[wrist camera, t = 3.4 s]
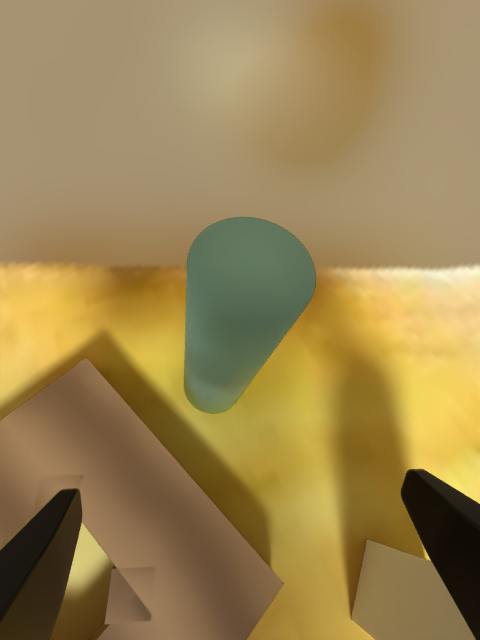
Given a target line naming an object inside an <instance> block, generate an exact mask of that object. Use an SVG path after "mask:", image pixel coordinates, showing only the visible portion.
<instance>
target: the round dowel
mask: <svg viewBox="0 0 480 640" xmlns="http://www.w3.org/2000/svg"><path fill="white" fill-rule="evenodd" d="M315 284H316V273H315V268H314V264H313V261H312V259H311V257H310V255H309V253H308V251H307V250H306V248H305V247H304V245H303V244H302V243H301V242H300V241H299V240H298V239H297V238H296V237H295V236H294V235H293V234H291V233H290V232H289V231H287V230H286V229H284V228H282V227H281V226H278V225H276V224H274V223H272V222H269V221H266V220H262V219H258V218H252V217H235V218H228V219H225V220H221V221H219V222H216V223H214V224H212V225H210V226H209V227H207V228H206V229H205V230H203V231H202V232H201V233H200V234H199V235H198V236H197V238H196V239H195V240H194V242H193V244H192V246H191V248H190V251H189V254H188V260H187V287H186V324H185V360H184V391H185V394H186V397H187V399H188V400H189V402H190V403H191V404H192V405H193V406H194V407H195V408H197V409H198V410H200V411H203V412H206V413H220V412H223V411H225V410H227V409H229V408H230V407H232V406H233V405H234V404H235V402H236V401H237V400H238V398H239V397H240V396H241V394H242V393H243V392H244V390H245V389H246V388H247V386H248V385H249V384H250V382H251V381H252V380H253V378H254V377H255V375H256V374H257V373H258V371H259V370H260V369H261V367H262V366H263V365H264V363H265V362H266V361H267V359H268V358H269V356H270V355H271V354H272V352H273V351H274V350H275V348H276V347H277V346H278V344H279V343H280V342H281V340H282V339H283V337H284V336H285V335H286V333H287V332H288V331H289V329H290V328H291V327H292V325H293V324H294V323H295V321H296V320H297V318H298V317H299V316H300V314H301V313H302V312H303V310H304V309H305V308H306V306H307V305H308V303H309V302H310V300H311V298H312V296H313V293H314V290H315Z"/></svg>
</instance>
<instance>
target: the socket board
mask: <svg viewBox="0 0 480 640" xmlns="http://www.w3.org/2000/svg"><path fill="white" fill-rule="evenodd" d="M71 488H78V489H79V490H80V494H81V503H82V512H83V515H82V523H83V524H84V525H85V527H86V528H87V529H88V531H89V532H90V533H91V535H92V536H93V537H94V539H95V540H96V541H97V542H98V544H99V545H100V546H101V548H102V549H103V550H104V552H105V553H106V554H107V556H108V557H109V558H110V560H111V561H112V562H113V564H114V566H113V568H112V571H111V579H110V587H109V594H108V602H107V610H106V618H105V622H104V623H103V624H102V625H101V626H100V627H99V628H98V630H97V631H96V632H95V633H94V634H93V635H92V636H91V638H90V639H89V640H246V639H247V638H248V636H249V635H250V633H251V632H252V630H253V629H254V627H255V626H256V624H257V623H258V621H259V620H260V618H261V617H262V615H263V614H264V612H265V611H266V609H267V608H268V607H269V605H270V604H271V602H272V601H273V599H274V598H275V596H276V595H277V593H278V592H279V590H280V589H281V587H282V586H283V584H284V583H283V582H282V581H281V580H280V579H279V578H278V576H277V575H276V574H275V573H274V572H273V571H272V569H271V568H270V567H269V566H268V565H267V564H266V563H265V561H264V560H263V559H262V558H261V557H260V556H259V555H258V553H257V552H256V551H255V550H254V549H253V548H252V547H251V545H250V544H249V543H248V542H247V541H246V540H245V539H244V537H243V536H242V535H241V534H240V533H239V532H238V531H237V529H236V528H235V527H234V526H233V525H232V524H231V522H230V521H229V520H228V519H227V518H226V517H225V516H224V514H223V513H222V512H221V511H220V510H219V509H218V508H217V506H216V505H215V504H214V503H213V502H212V501H211V500H210V498H209V497H208V496H207V495H206V494H205V493H204V492H203V490H202V489H201V488H200V487H199V486H198V485H197V484H196V482H195V481H194V480H193V479H192V478H191V477H190V476H189V474H188V473H187V472H186V471H185V470H184V469H183V467H182V466H181V465H180V464H179V463H178V462H177V461H176V459H175V458H174V457H173V456H172V455H171V454H170V453H169V451H168V450H167V449H166V448H165V447H164V446H163V445H162V443H161V442H160V441H159V440H158V439H157V438H156V437H155V435H154V434H153V433H152V432H151V431H150V430H149V429H148V427H147V426H146V425H145V424H144V423H143V422H142V420H141V419H140V418H139V417H138V416H137V415H136V414H135V412H134V411H133V410H132V409H131V408H130V407H129V406H128V404H127V403H126V402H125V401H124V400H123V399H122V398H121V396H120V395H119V394H118V393H117V392H116V391H115V390H114V388H113V387H112V386H111V385H110V384H109V383H108V382H107V380H106V379H105V378H104V377H103V376H102V375H101V373H100V372H99V371H98V370H97V369H96V368H95V367H94V365H93V364H92V363H91V362H90V361H89V360H88V359H87V358H86V359H84V360H83V361H81V362H80V363H79V364H77V365H76V366H75V367H73V368H72V369H70V370H69V371H68V372H66V373H65V374H64V375H62V376H61V377H59V378H58V379H57V380H55V381H54V382H52V383H51V384H50V385H48V386H47V387H46V388H44V389H43V390H41V391H40V392H39V393H37V394H36V395H35V396H33V397H32V398H30V399H29V400H28V401H26V402H25V403H24V404H22V405H21V406H19V407H18V408H17V409H15V410H14V411H13V412H11V413H10V414H8V415H7V416H6V417H4V418H3V419H2V420H0V550H1V549H2V548H3V547H4V546H5V545H6V544H7V543H8V542H9V541H10V540H11V539H12V538H13V537H14V536H15V535H16V534H17V533H18V532H19V531H20V530H21V529H22V528H23V527H24V526H25V525H26V524H27V523H28V522H29V521H30V520H31V519H32V518H33V517H34V516H35V515H36V514H37V513H38V512H39V511H40V510H41V509H42V508H43V507H44V506H45V505H46V504H47V503H48V502H49V501H50V500H51V499H52V498H53V497H54V496H55V495H56V494H57V493H58V492H59V491H60V490H62V489H71Z"/></svg>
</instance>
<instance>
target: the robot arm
mask: <svg viewBox="0 0 480 640" xmlns="http://www.w3.org/2000/svg"><path fill="white" fill-rule="evenodd" d="M401 497H402V500H403V502H404V505H405V507H406V509H407V511H408V513H409V515H410V517H411V520H412V522H413V524H414V526H415V528H416V530H417V533H418V535H419V537H420V539H421V541H422V543H423V546H424V548H425V550H426V552H427V554H428V556H429V558H430V559H431V561H432V563H433V565H434V567H435V569H436V570H437V572H438V574H439V576H440V577H441V579H442V581H443V583H444V585H445V586H446V588H447V590H448V592H449V593H450V595H451V597H452V599H453V601H454V602H455V604H456V606H457V608H458V609H459V611H460V613H461V615H462V616H463V618H464V620H465V622H466V624H467V625H468V627H469V629H470V631H471V632H472V634H473V636H474V638H475V639H476V640H480V504H479V503H477V502H476V501H474V500H473V499H471V498H469V497H468V496H466V495H464V494H463V493H461V492H460V491H458V490H456V489H455V488H453V487H451V486H450V485H448V484H447V483H445V482H443V481H442V480H440V479H438V478H437V477H435V476H434V475H432V474H430V473H429V472H427V471H425V470H423V469H410V470H408V471H407V473H406V476H405V479H404V482H403V485H402V488H401ZM82 515H83V512H82V503H81V494H80V490H79V489H78V488H71V489H62V490H60V491H59V492H58V493H57V494H56V495H55V496H54V497H53V498H52V499H51V500H50V501H49V502H48V503H47V504H46V505H45V506H44V507H43V508H42V509H41V510H40V511H39V512H38V513H37V514H36V515H35V516H34V517H33V518H32V519H31V520H30V521H29V522H28V523H27V524H26V525H25V526H24V527H23V528H22V529H21V530H20V531H19V532H18V533H17V534H16V535H15V536H14V537H13V538H12V539H11V540H10V541H9V542H8V543H7V544H6V545H5V546H4V547H3V548H2V549H1V550H0V640H50V637H51V634H52V631H53V628H54V625H55V622H56V619H57V616H58V613H59V610H60V607H61V604H62V601H63V597H64V594H65V590H66V586H67V582H68V578H69V574H70V569H71V565H72V561H73V557H74V553H75V548H76V544H77V540H78V536H79V531H80V527H81V523H82Z"/></svg>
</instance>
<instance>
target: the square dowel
mask: <svg viewBox="0 0 480 640" xmlns="http://www.w3.org/2000/svg"><path fill="white" fill-rule="evenodd" d="M351 619H352V620H353V621H354V622H355V623H356V624H358V625H359V626H360V627H361V628H362V629H364V630H365V631H366V632H367V633H368V634H370V635H371V636H372V637H373V638H374V639H375V640H476V639H475V638H474V636H473V634H472V632H471V631H470V629H469V627H468V625H467V624H466V622H465V620H464V618H463V616H462V615H461V613H460V611H459V609H458V608H457V606H456V604H455V602H454V601H453V599H452V597H451V595H450V593H449V592H448V590H447V588H446V586H445V585H444V583H443V581H442V579H441V577H440V576H439V574H438V572H437V570H436V569H435V567H434V565H433V563H432V561H429V560H426V559H424V558H421V557H418V556H415V555H412V554H409V553H406V552H403V551H400V550H397V549H394V548H391V547H388V546H385V545H382V544H380V543H377V542H374V541H371V540H368V539H367V542H366V547H365V552H364V557H363V562H362V567H361V572H360V576H359V581H358V586H357V591H356V596H355V601H354V606H353V611H352V616H351Z"/></svg>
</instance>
